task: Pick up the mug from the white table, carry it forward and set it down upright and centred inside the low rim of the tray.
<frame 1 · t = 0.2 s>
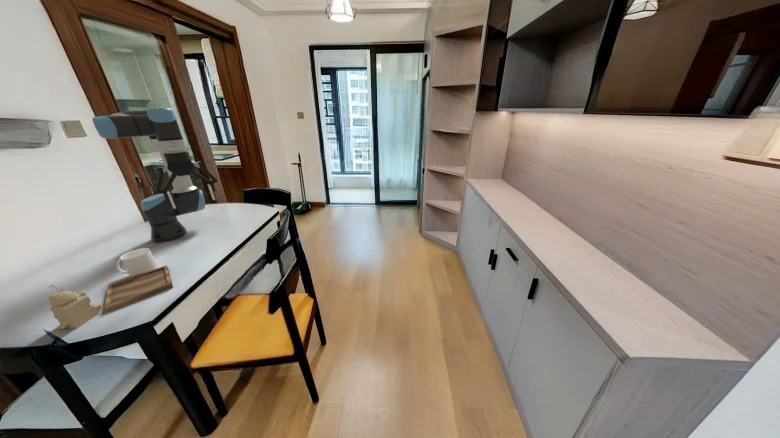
hand: (195, 203, 105), 28 cm above the table, fingers open, 13 cm apart
tray: (141, 287, 98), on the table
mug: (141, 272, 108), on the table
robot: (80, 319, 84), on the table
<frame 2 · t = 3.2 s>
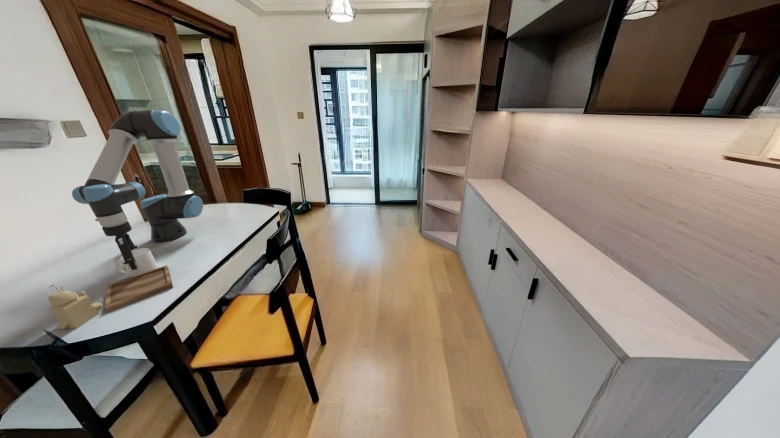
hand: (138, 268, 107), 2 cm above the table, fingers open, 13 cm apart
nothing on the table moved.
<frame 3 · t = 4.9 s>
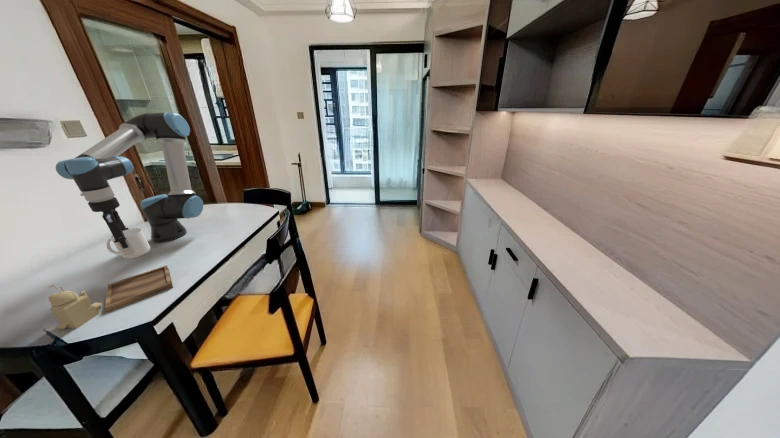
hand: (130, 249, 104), 11 cm above the table, fingers closed on mug, 9 cm apart
mug: (133, 253, 106), point 9 cm above the table, touching gripper
everything else where it was.
when the fingers open (2 cm above the table, at t = 7.8 s): mug stays where it is, resting on tray.
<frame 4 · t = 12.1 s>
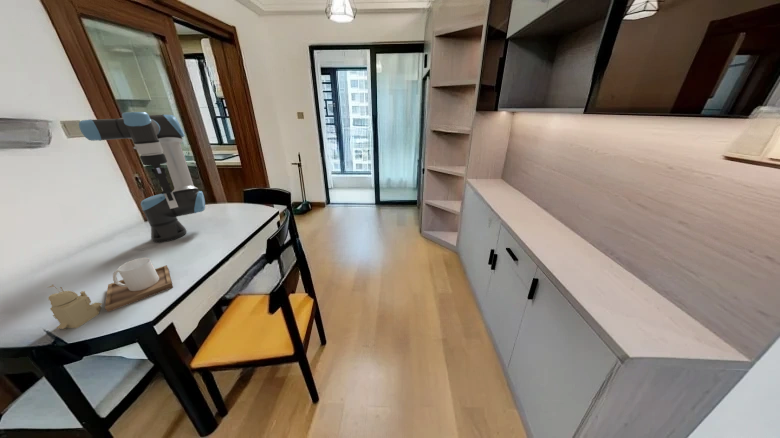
hand: (172, 204, 108), 27 cm above the table, fingers open, 13 cm apart
mug: (140, 285, 98), point 1 cm above the table, touching tray
everything else where it was.
at the end: mug inside the target area on the tray (0.6 cm from its centre), point 1.0 cm above the tray's base; mug tilted 0°; the gripper is holding nothing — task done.
